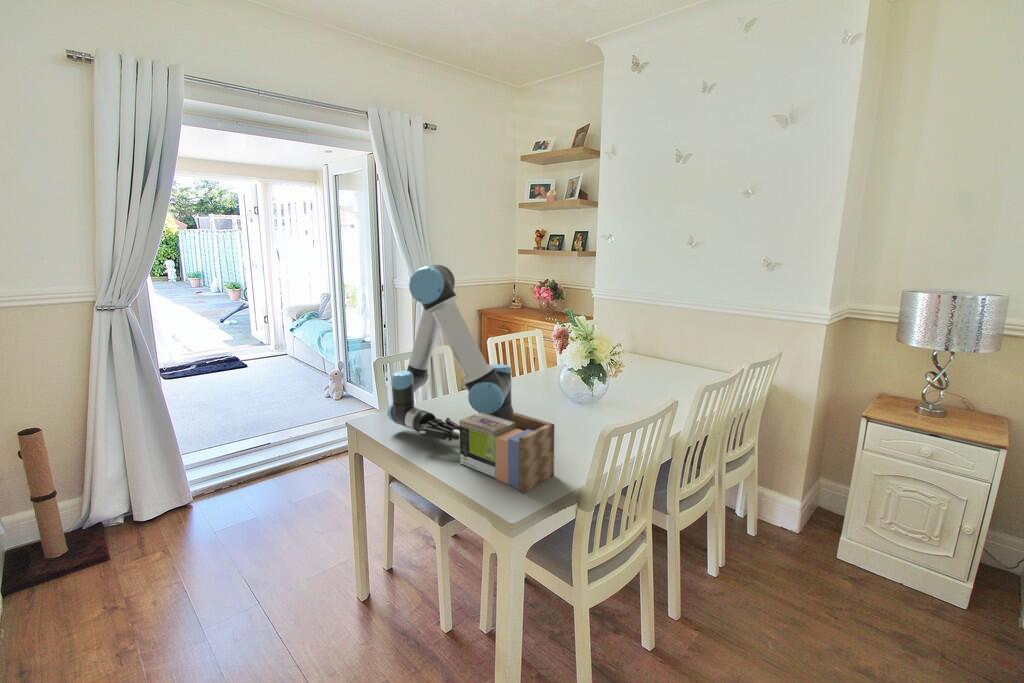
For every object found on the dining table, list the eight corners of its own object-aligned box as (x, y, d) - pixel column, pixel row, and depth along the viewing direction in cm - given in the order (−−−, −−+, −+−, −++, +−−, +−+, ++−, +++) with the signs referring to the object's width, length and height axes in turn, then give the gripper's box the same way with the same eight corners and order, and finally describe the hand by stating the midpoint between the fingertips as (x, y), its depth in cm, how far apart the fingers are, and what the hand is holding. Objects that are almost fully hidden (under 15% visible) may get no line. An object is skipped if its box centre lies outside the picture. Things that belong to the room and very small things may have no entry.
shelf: (515, 460, 150) (515, 412, 147) (553, 475, 141) (554, 424, 137) (484, 476, 140) (483, 425, 137) (523, 493, 130) (523, 439, 127)
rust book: (515, 467, 145) (515, 427, 143) (528, 472, 142) (528, 432, 140) (495, 478, 139) (495, 437, 136) (508, 484, 135) (508, 441, 133)
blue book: (527, 473, 142) (527, 429, 139) (538, 477, 140) (538, 432, 137) (508, 484, 135) (507, 438, 132) (519, 489, 133) (519, 442, 130)
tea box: (516, 467, 146) (516, 421, 143) (494, 479, 138) (494, 431, 135) (481, 453, 155) (480, 410, 152) (459, 464, 148) (458, 419, 145)
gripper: (435, 425, 171) (482, 443, 155) (406, 436, 161) (453, 457, 146) (435, 406, 169) (482, 422, 154) (405, 416, 159) (452, 434, 144)
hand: (468, 439), depth 150 cm, fingers closed
